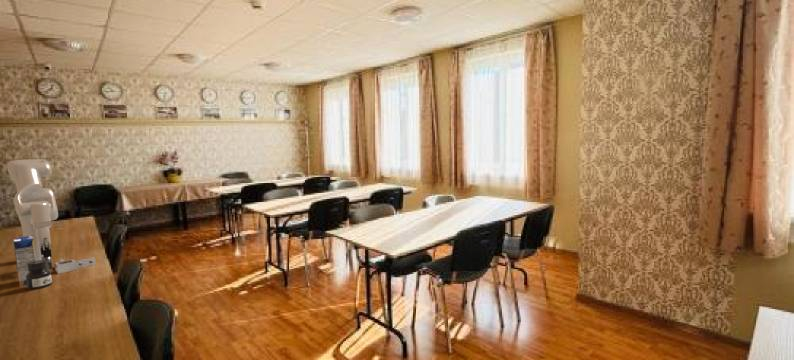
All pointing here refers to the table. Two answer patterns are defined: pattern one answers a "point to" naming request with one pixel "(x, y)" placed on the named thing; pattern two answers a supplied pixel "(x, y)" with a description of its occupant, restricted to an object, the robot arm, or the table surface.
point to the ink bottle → (38, 275)
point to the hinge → (73, 264)
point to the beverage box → (24, 256)
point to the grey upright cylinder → (48, 262)
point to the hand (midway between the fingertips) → (46, 255)
